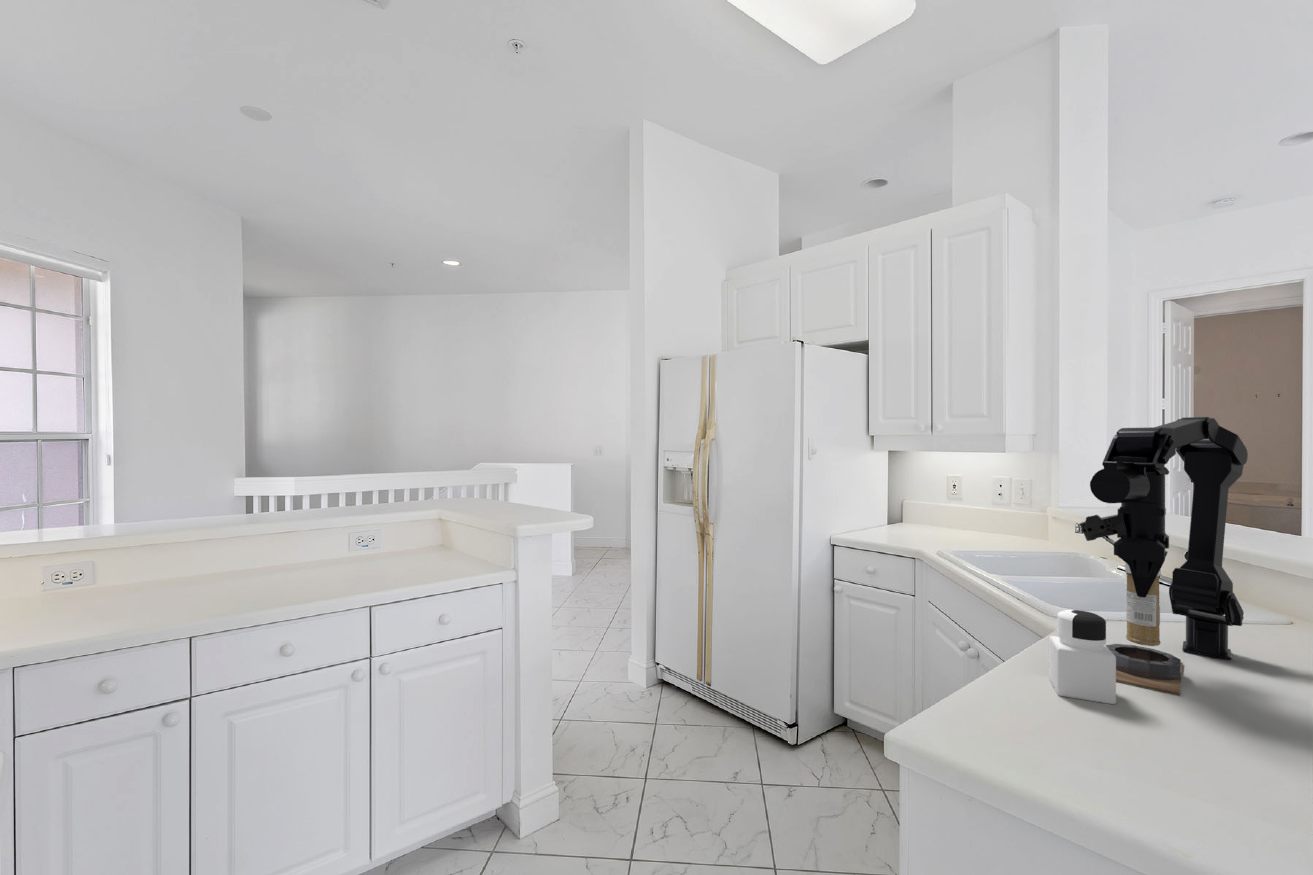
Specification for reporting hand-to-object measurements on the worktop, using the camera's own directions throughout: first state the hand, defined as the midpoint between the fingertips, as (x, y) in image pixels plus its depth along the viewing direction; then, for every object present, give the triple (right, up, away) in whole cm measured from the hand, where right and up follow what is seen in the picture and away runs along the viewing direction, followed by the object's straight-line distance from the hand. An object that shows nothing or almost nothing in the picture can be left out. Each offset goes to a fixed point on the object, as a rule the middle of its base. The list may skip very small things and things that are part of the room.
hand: (1142, 594), depth 99 cm
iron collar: (0, -13, 0) cm, 13 cm away
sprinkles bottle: (0, -8, 0) cm, 8 cm away
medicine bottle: (-17, -13, -9) cm, 23 cm away
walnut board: (0, -13, 0) cm, 13 cm away
